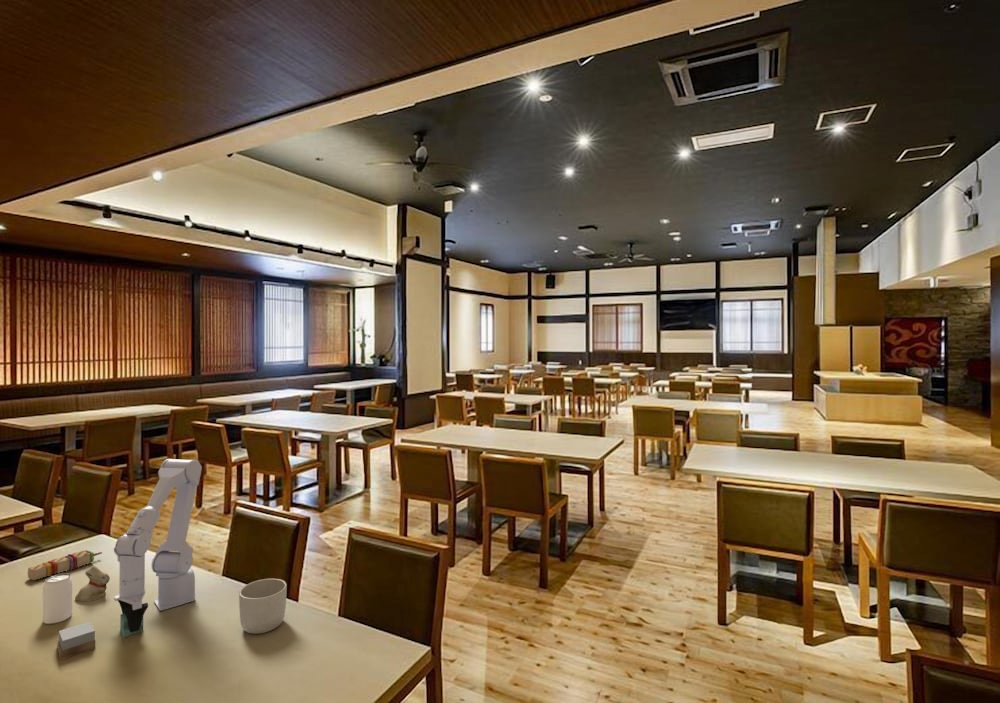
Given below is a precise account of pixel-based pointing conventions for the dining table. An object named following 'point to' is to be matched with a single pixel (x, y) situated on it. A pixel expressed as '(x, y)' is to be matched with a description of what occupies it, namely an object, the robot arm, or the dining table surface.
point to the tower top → (76, 635)
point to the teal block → (125, 628)
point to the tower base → (74, 649)
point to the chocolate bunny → (93, 585)
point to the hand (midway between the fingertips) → (131, 625)
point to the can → (57, 598)
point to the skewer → (61, 564)
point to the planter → (262, 605)
